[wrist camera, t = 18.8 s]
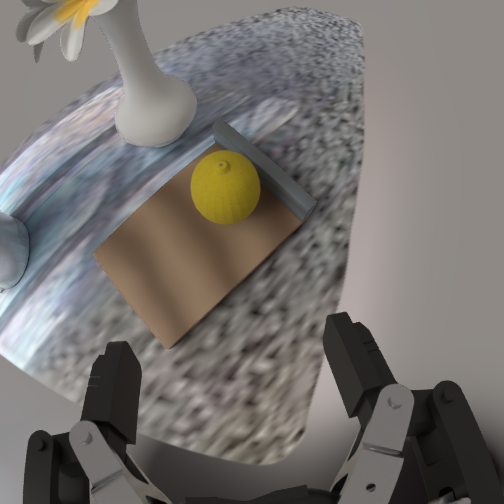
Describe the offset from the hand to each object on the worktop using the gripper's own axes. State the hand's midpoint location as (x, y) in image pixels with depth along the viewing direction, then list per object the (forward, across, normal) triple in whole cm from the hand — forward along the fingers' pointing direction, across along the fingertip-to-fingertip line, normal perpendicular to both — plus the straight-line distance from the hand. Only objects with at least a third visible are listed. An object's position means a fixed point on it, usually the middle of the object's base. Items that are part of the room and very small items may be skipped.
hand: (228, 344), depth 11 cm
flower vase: (+28, -6, +5) cm, 29 cm away
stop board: (+17, -2, -5) cm, 18 cm away
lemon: (+18, +1, -2) cm, 18 cm away
